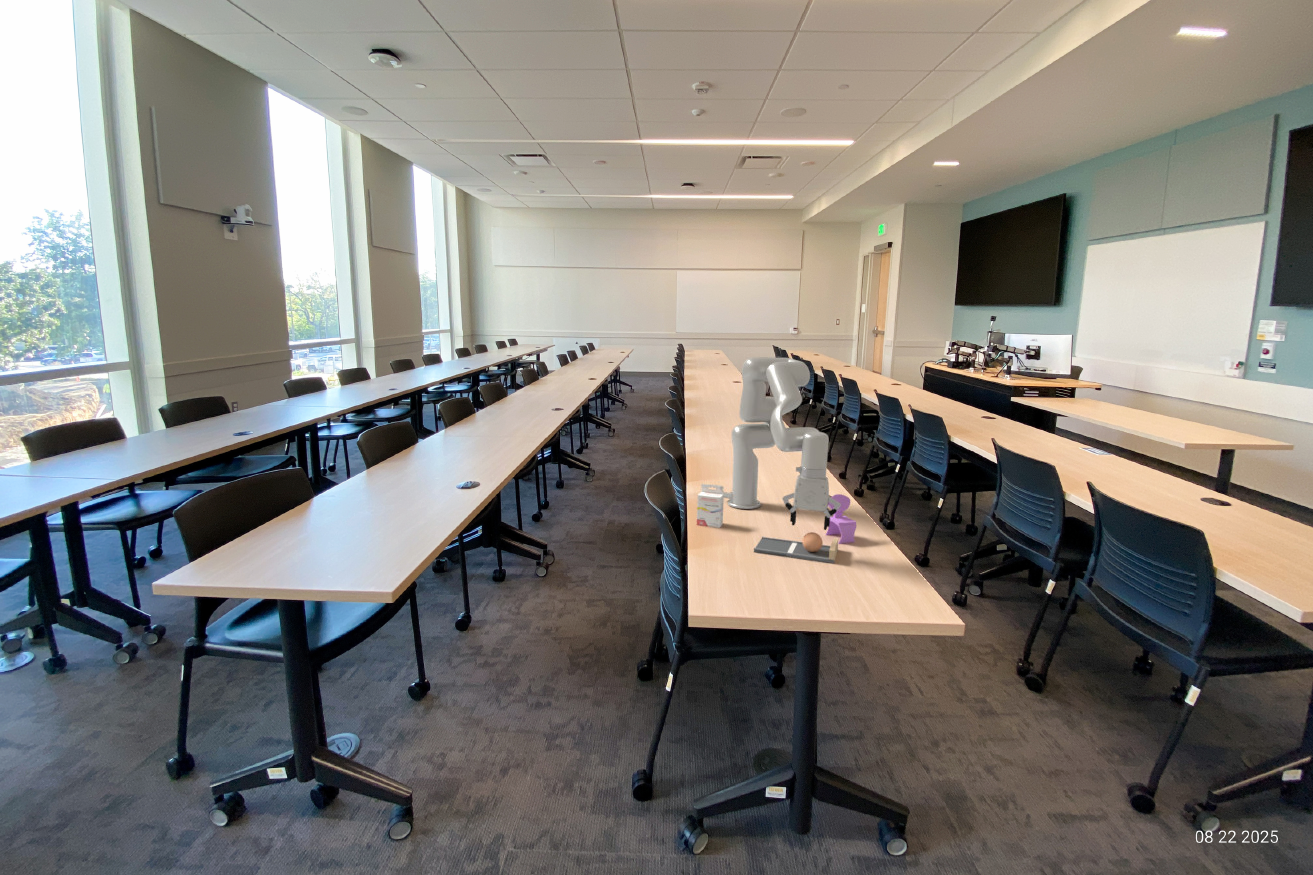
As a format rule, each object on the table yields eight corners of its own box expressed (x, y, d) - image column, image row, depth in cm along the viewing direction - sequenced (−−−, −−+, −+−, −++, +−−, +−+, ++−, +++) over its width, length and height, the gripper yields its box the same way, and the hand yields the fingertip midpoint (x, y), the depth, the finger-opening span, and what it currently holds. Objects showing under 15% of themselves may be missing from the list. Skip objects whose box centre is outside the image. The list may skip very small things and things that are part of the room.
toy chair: (836, 545, 192) (839, 500, 190) (821, 537, 201) (824, 493, 198) (858, 543, 195) (861, 499, 192) (843, 535, 203) (846, 492, 200)
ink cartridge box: (696, 527, 210) (696, 486, 207) (699, 523, 214) (700, 483, 212) (720, 529, 207) (721, 488, 204) (723, 525, 211) (724, 485, 209)
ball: (824, 541, 180) (814, 558, 181) (827, 537, 185) (817, 552, 187) (807, 530, 181) (797, 547, 183) (810, 526, 187) (800, 542, 189)
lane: (753, 552, 186) (754, 539, 185) (761, 540, 197) (762, 528, 196) (833, 563, 177) (834, 550, 176) (837, 550, 188) (838, 538, 187)
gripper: (782, 472, 181) (779, 526, 184) (841, 478, 175) (837, 534, 178) (786, 466, 188) (783, 518, 191) (844, 473, 182) (839, 526, 185)
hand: (809, 526), depth 185 cm, fingers open, 9 cm apart
